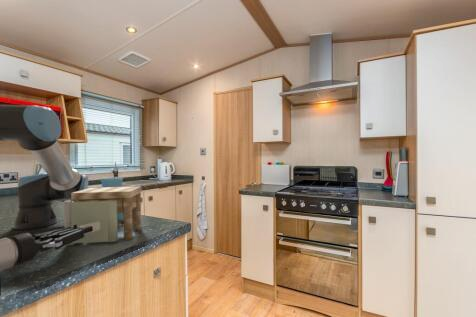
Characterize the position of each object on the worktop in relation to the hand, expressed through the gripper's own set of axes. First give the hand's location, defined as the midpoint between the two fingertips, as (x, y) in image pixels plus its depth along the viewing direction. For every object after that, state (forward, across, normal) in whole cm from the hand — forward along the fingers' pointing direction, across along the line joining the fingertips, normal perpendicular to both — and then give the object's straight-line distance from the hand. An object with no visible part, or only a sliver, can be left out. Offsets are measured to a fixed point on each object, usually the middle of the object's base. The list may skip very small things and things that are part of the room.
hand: (98, 225), depth 80 cm
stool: (+9, -6, -7) cm, 13 cm away
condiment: (+25, -13, -7) cm, 29 cm away
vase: (+26, -25, -7) cm, 37 cm away
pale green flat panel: (0, -4, -7) cm, 8 cm away
